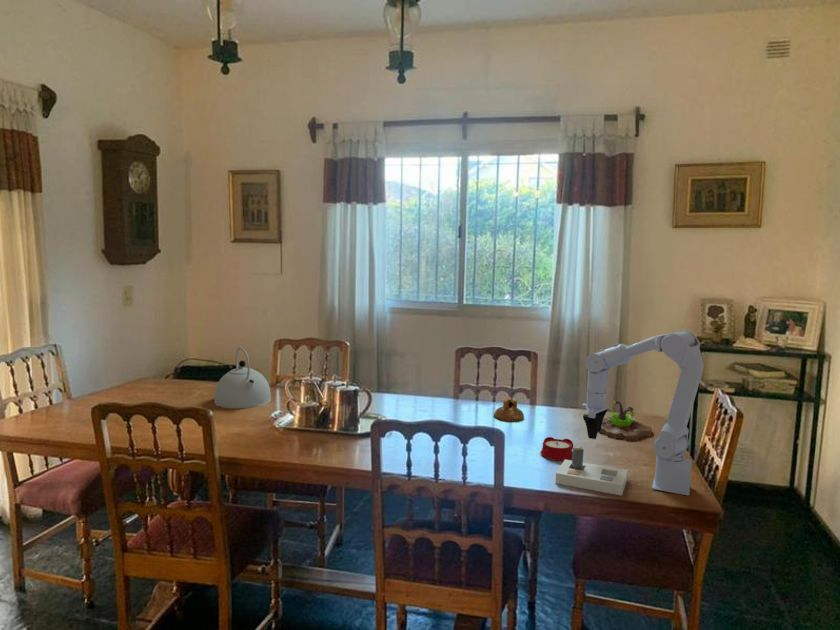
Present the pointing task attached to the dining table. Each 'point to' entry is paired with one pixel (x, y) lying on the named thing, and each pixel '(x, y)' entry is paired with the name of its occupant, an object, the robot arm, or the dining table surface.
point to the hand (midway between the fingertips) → (594, 434)
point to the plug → (577, 458)
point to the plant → (624, 425)
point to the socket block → (593, 477)
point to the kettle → (242, 387)
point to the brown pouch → (509, 411)
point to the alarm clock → (557, 449)
